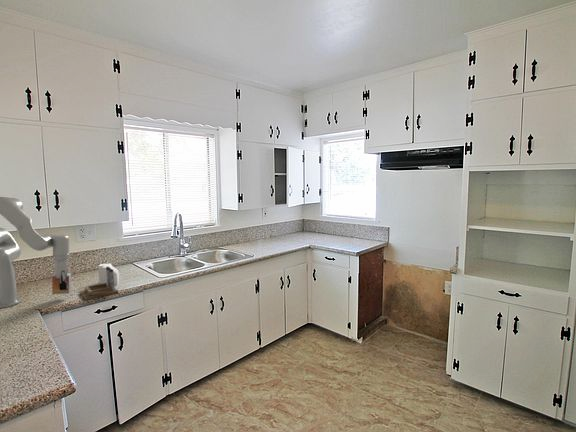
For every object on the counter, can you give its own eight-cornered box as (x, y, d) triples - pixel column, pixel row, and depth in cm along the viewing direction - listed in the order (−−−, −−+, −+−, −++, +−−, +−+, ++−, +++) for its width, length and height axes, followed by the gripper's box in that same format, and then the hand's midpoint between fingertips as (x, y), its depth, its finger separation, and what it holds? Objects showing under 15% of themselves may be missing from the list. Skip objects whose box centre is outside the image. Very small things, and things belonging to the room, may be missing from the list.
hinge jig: (79, 293, 191) (77, 270, 189) (110, 287, 202) (109, 265, 201) (85, 300, 180) (83, 275, 178) (118, 293, 192) (116, 269, 190)
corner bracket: (101, 281, 214) (100, 264, 212) (120, 280, 217) (119, 262, 216) (97, 286, 203) (96, 268, 202) (117, 284, 207) (116, 266, 206)
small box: (52, 294, 178) (51, 276, 177) (54, 291, 183) (54, 273, 182) (69, 293, 181) (68, 275, 180) (71, 290, 186) (71, 272, 185)
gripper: (50, 255, 184) (51, 285, 186) (55, 261, 171) (56, 293, 173) (66, 253, 189) (66, 282, 191) (72, 259, 177) (72, 290, 178)
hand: (61, 287), depth 182 cm, fingers closed on small box, 6 cm apart
